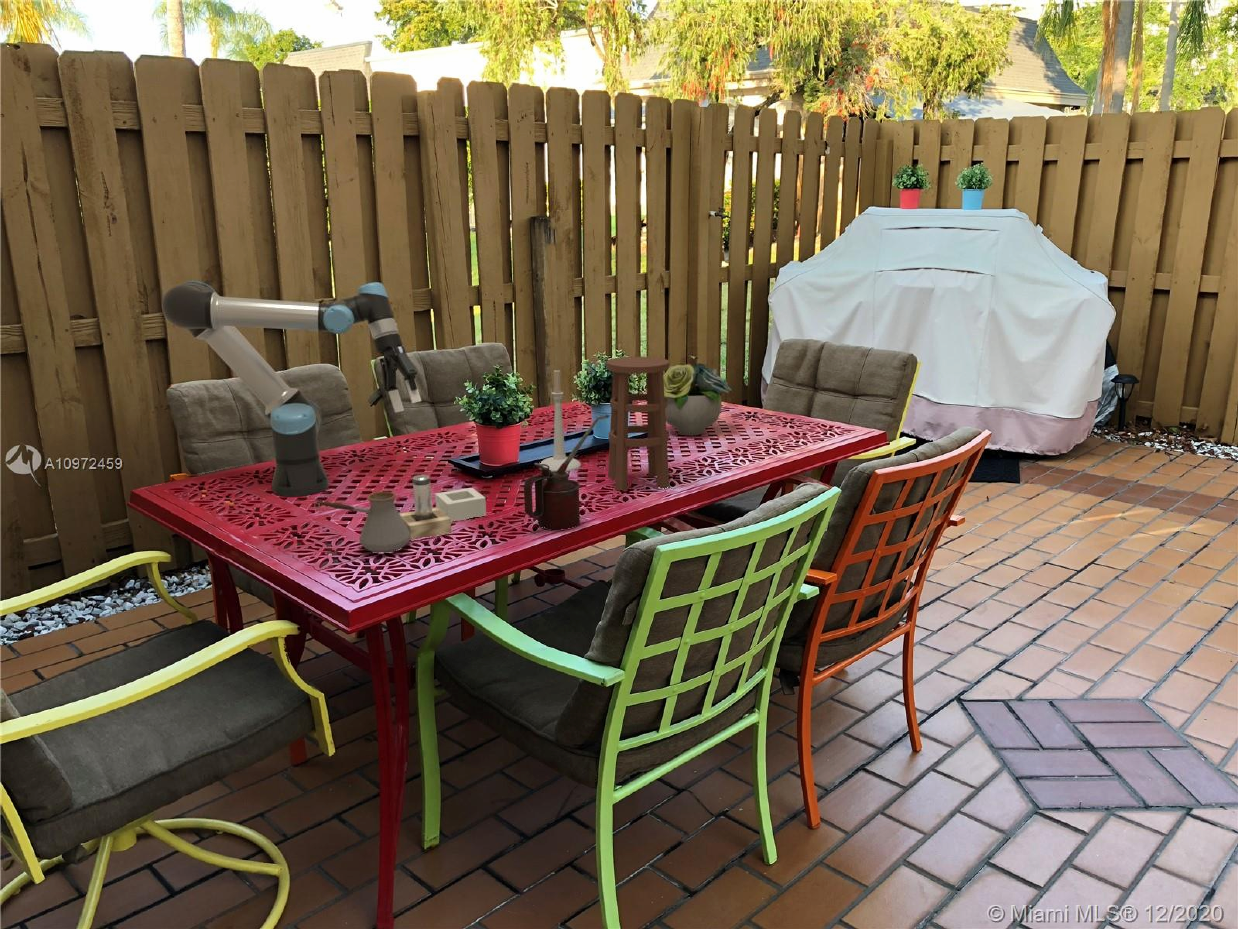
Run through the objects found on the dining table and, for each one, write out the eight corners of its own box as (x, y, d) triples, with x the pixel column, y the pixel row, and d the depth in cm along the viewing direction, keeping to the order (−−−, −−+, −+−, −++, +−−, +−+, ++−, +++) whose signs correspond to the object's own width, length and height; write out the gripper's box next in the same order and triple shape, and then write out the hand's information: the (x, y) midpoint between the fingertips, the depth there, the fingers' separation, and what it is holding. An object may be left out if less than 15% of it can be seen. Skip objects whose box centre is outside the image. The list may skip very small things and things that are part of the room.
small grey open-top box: (448, 523, 221) (447, 504, 220) (436, 511, 230) (435, 493, 228) (486, 516, 226) (485, 497, 224) (472, 505, 234) (471, 487, 233)
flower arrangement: (688, 421, 325) (689, 355, 318) (740, 433, 307) (742, 363, 300) (639, 432, 309) (639, 363, 302) (692, 446, 291) (693, 372, 284)
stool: (647, 370, 229) (588, 363, 240) (647, 497, 239) (590, 485, 250) (686, 359, 245) (628, 353, 256) (685, 480, 255) (629, 469, 265)
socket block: (411, 542, 209) (409, 526, 208) (399, 529, 217) (398, 514, 216) (451, 534, 213) (450, 518, 212) (438, 522, 222) (437, 507, 221)
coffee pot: (397, 535, 213) (392, 476, 209) (420, 549, 205) (415, 487, 200) (311, 558, 200) (303, 495, 195) (332, 573, 191) (325, 508, 187)
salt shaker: (419, 536, 213) (415, 480, 209) (414, 530, 216) (410, 476, 212) (435, 532, 215) (432, 478, 211) (430, 527, 218) (426, 473, 214)
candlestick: (534, 462, 273) (531, 366, 265) (574, 458, 277) (572, 364, 269) (544, 474, 262) (540, 374, 253) (585, 469, 265) (583, 371, 257)
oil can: (544, 539, 210) (540, 437, 203) (515, 528, 217) (510, 430, 210) (625, 510, 229) (624, 417, 222) (596, 501, 237) (594, 410, 230)
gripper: (414, 322, 246) (436, 395, 247) (383, 345, 266) (404, 412, 267) (389, 326, 242) (411, 400, 242) (360, 349, 262) (381, 418, 263)
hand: (407, 407), depth 255 cm, fingers open, 13 cm apart
